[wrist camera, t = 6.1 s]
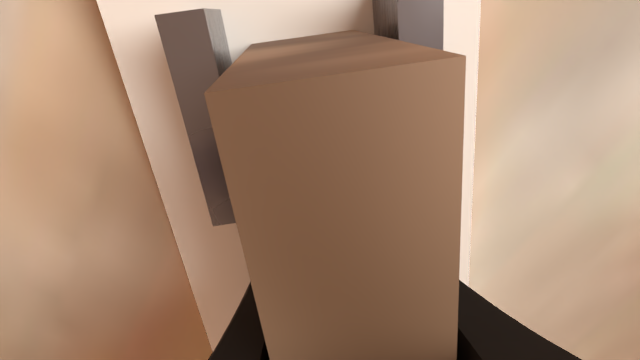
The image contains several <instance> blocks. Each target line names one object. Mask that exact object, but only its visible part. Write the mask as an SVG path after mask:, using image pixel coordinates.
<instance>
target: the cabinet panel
mask: <svg viewBox="0 0 640 360" xmlns="http://www.w3.org/2000/svg"><path fill="white" fill-rule="evenodd" d="M96 1H97V4H98V7H99V10H100V13H101V16H102V19H103V22H104V25H105V28H106V31H107V34H108V37H109V40H110V43H111V46H112V49H113V52H114V55H115V58H116V61H117V64H118V67H119V71H120V74H121V77H122V80H123V83H124V86H125V89H126V92H127V95H128V98H129V101H130V104H131V107H132V110H133V113H134V116H135V119H136V122H137V125H138V128H139V131H140V134H141V137H142V140H143V143H144V146H145V149H146V152H147V155H148V158H149V161H150V164H151V167H152V170H153V173H154V176H155V179H156V183H157V186H158V189H159V192H160V195H161V198H162V201H163V204H164V207H165V210H166V213H167V216H168V219H169V222H170V225H171V228H172V231H173V234H174V237H175V240H176V243H177V246H178V249H179V252H180V255H181V258H182V261H183V264H184V267H185V270H186V273H187V276H188V279H189V282H190V285H191V288H192V291H193V295H194V298H195V301H196V304H197V307H198V310H199V313H200V316H201V319H202V322H203V325H204V328H205V331H206V334H207V337H208V340H209V343H210V346H211V349H212V352H213V351H214V349H215V348H216V346H217V344H218V343H219V341H220V339H221V337H222V335H223V334H224V332H225V330H226V328H227V327H228V325H229V323H230V321H231V319H232V318H233V316H234V314H235V312H236V310H237V308H238V306H239V304H240V302H241V300H242V298H243V296H244V294H245V292H246V290H247V287H248V285H249V283H250V278H249V273H248V269H247V265H246V261H245V257H244V253H243V249H242V245H241V241H240V237H239V233H238V229H237V225H236V223H232V224H225V225H219V226H213V225H212V221H211V217H210V214H209V210H208V207H207V203H206V200H205V196H204V192H203V189H202V185H201V182H200V178H199V174H198V171H197V167H196V164H195V160H194V156H193V153H192V149H191V146H190V142H189V138H188V135H187V131H186V128H185V124H184V120H183V117H182V113H181V110H180V106H179V102H178V99H177V95H176V92H175V88H174V84H173V81H172V77H171V74H170V70H169V67H168V63H167V59H166V56H165V52H164V49H163V45H162V41H161V38H160V34H159V31H158V27H157V23H156V20H155V16H154V15H158V14H165V13H172V12H180V11H187V10H194V9H202V8H207V9H221V14H222V19H223V23H224V28H225V33H226V37H227V42H228V47H229V52H230V56H231V61H232V64H233V62H234V61H235V60H236V59H237V58H238V57H239V56H240V55H241V54H242V53H243V52H244V51H245V50H246V49H247V48H248V47H249V46H250V45H251V44H254V43H262V42H269V41H276V40H283V39H291V38H298V37H305V36H312V35H319V34H327V33H334V32H341V31H348V30H356V31H361V32H365V33H369V34H374V20H373V4H372V0H96ZM480 12H481V0H444V27H443V51H448V52H452V53H457V54H461V55H465V56H466V75H465V107H464V140H463V172H462V204H461V236H460V268H459V280H460V281H462V282H463V283H464V284H466V285H467V286H468V287H469V269H470V246H471V222H472V199H473V175H474V152H475V129H476V105H477V82H478V58H479V35H480Z"/></svg>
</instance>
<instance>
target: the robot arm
mask: <svg viewBox="0 0 640 360" xmlns="http://www.w3.org/2000/svg"><path fill="white" fill-rule="evenodd" d="M208 360H270V358H269V354H268V350H267V346H266V342H265V338H264V334H263V330H262V326H261V322H260V318H259V314H258V310H257V306H256V302H255V298H254V294H253V290H252V286H251V282H250V283H249V285H248V287H247V290H246V292H245V294H244V296H243V298H242V300H241V302H240V304H239V306H238V308H237V310H236V312H235V314H234V316H233V318H232V319H231V321H230V323H229V325H228V327H227V328H226V330H225V332H224V334H223V335H222V337H221V339H220V341H219V343H218V344H217V346H216V348H215V349H214V351H213V353H212V354H211V356H210V357H209V359H208ZM457 360H581V359H580V358H578V357H576V356H574V355H573V354H571V353H569V352H567V351H566V350H564V349H562V348H560V347H559V346H557V345H555V344H553V343H552V342H550V341H548V340H546V339H545V338H543V337H541V336H540V335H538V334H536V333H535V332H533V331H532V330H530V329H528V328H527V327H525V326H524V325H522V324H521V323H519V322H518V321H516V320H515V319H513V318H512V317H510V316H509V315H507V314H506V313H504V312H503V311H501V310H500V309H498V308H497V307H495V306H494V305H493V304H491V303H490V302H488V301H487V300H486V299H484V298H483V297H482V296H480V295H479V294H478V293H476V292H475V291H473V290H472V289H471V288H469V287H468V286H467V285H466V284H464V283H463V282H462V281H460V280H459V301H458V333H457Z"/></svg>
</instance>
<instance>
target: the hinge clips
mask: <svg viewBox="0 0 640 360" xmlns="http://www.w3.org/2000/svg"><path fill="white" fill-rule="evenodd" d="M372 4H373V20H374V35H378V36H382V37H387V38H391V39H395V40H400V41H404V42H409V43H413V44H417V45H422V46H426V47H430V48H435V49H439V50H443V27H444V0H372ZM154 16H155V20H156V23H157V27H158V31H159V34H160V38H161V41H162V45H163V49H164V52H165V56H166V59H167V63H168V67H169V70H170V74H171V77H172V81H173V84H174V88H175V92H176V95H177V99H178V102H179V106H180V110H181V113H182V117H183V120H184V124H185V128H186V131H187V135H188V138H189V142H190V146H191V149H192V153H193V156H194V160H195V164H196V167H197V171H198V174H199V178H200V182H201V185H202V189H203V192H204V196H205V200H206V203H207V207H208V210H209V214H210V217H211V221H212V225H213V226H219V225H225V224H232V223H236V221H235V217H234V213H233V209H232V205H231V201H230V197H229V193H228V189H227V184H226V180H225V176H224V172H223V168H222V164H221V160H220V156H219V152H218V148H217V144H216V140H215V136H214V132H213V128H212V124H211V120H210V116H209V112H208V108H207V104H206V100H205V95H204V92H205V91H206V90H207V89H208V88H209V87H210V86H211V85H212V84H213V83H214V82H215V81H216V80H217V79H218V78H219V77H220V76H221V75H222V74H223V73H224V72H225V71H226V70H227V69H228V68H229V67H230V66H231V65H232V61H231V56H230V52H229V47H228V42H227V37H226V33H225V28H224V23H223V19H222V14H221V9H207V8H202V9H194V10H187V11H180V12H172V13H165V14H158V15H154Z"/></svg>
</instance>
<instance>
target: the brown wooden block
mask: <svg viewBox="0 0 640 360" xmlns="http://www.w3.org/2000/svg"><path fill="white" fill-rule="evenodd" d="M465 75H466V56H465V55H461V54H457V53H452V52H448V51H443V50H439V49H435V48H430V47H426V46H422V45H417V44H413V43H409V42H404V41H400V40H395V39H391V38H387V37H382V36H378V35H374V34H369V33H365V32H361V31H356V30H348V31H341V32H334V33H327V34H319V35H312V36H305V37H298V38H291V39H283V40H276V41H269V42H262V43H254V44H251V45H250V46H249V47H248V48H247V49H246V50H245V51H244V52H243V53H242V54H241V55H240V56H239V57H238V58H237V59H236V60H235V61H234V62H233V64H232V65H231V66H230V67H229V68H228V69H227V70H226V71H225V72H224V73H223V74H222V75H221V76H220V77H219V78H218V79H217V80H216V81H215V82H214V83H213V84H212V85H211V86H210V87H209V88H208V89H207V90H206V91H205V92H204V95H205V100H206V104H207V108H208V112H209V116H210V120H211V124H212V128H213V132H214V136H215V140H216V144H217V148H218V152H219V156H220V160H221V164H222V168H223V172H224V176H225V180H226V184H227V189H228V193H229V197H230V201H231V205H232V209H233V213H234V217H235V221H236V225H237V229H238V233H239V237H240V241H241V245H242V249H243V253H244V257H245V261H246V265H247V269H248V273H249V278H250V282H251V286H252V290H253V294H254V298H255V302H256V306H257V310H258V314H259V318H260V322H261V326H262V330H263V334H264V338H265V342H266V346H267V350H268V354H269V358H270V360H457V333H458V301H459V268H460V236H461V204H462V172H463V140H464V107H465Z"/></svg>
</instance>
